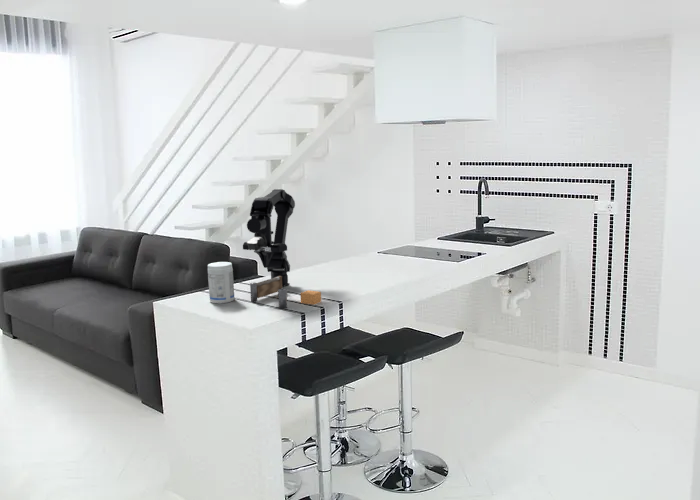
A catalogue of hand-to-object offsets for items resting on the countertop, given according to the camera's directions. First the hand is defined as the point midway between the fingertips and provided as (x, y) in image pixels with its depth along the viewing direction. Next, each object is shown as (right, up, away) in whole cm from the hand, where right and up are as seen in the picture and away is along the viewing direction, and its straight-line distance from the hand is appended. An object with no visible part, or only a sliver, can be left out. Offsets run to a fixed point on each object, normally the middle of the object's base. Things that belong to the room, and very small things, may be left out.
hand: (265, 267), depth 264 cm
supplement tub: (-16, -13, -9) cm, 22 cm away
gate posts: (+3, -14, -17) cm, 22 cm away
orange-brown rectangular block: (+19, -13, -14) cm, 27 cm away
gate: (+2, -11, -4) cm, 12 cm away
